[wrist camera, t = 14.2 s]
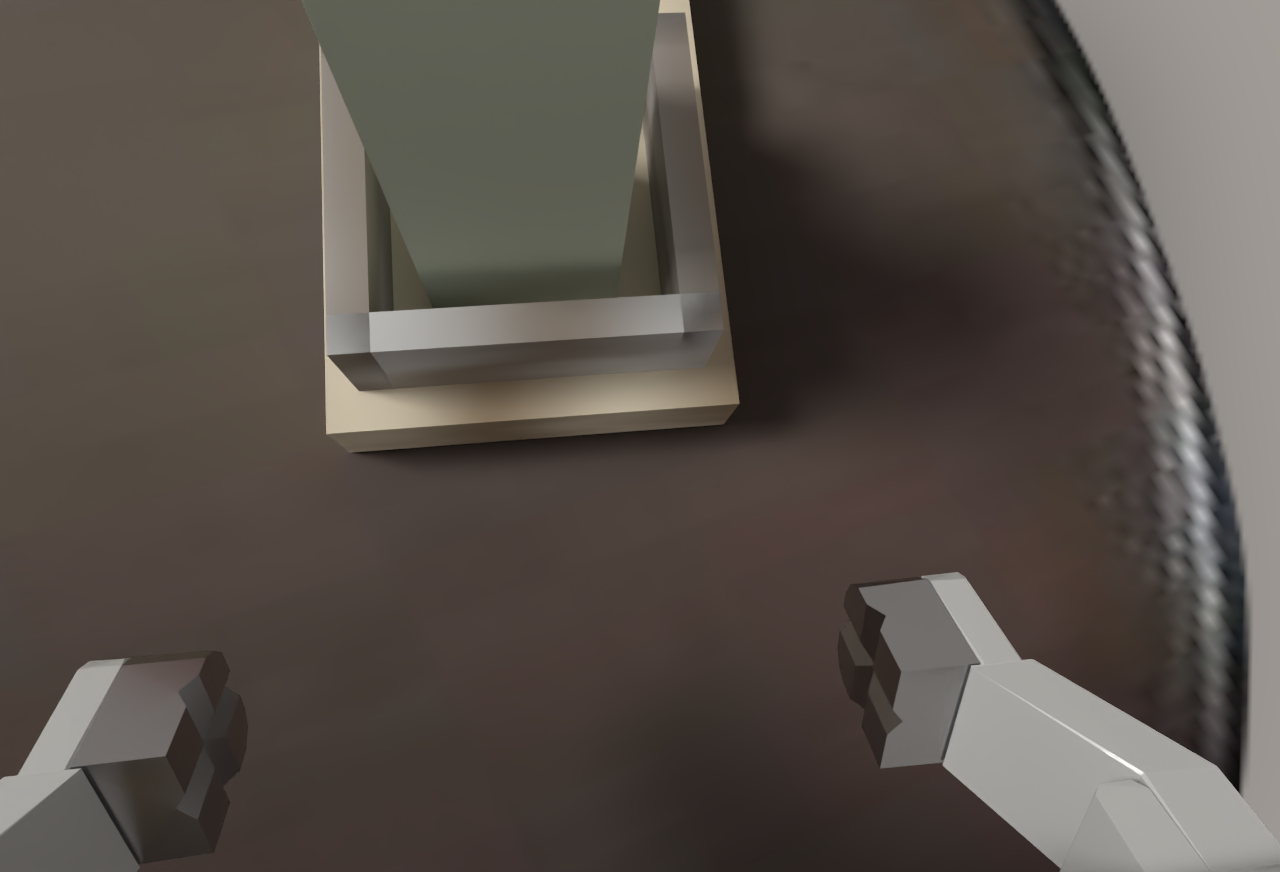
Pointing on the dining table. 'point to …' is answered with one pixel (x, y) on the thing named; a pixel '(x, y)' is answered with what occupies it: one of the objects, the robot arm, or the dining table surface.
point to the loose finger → (499, 135)
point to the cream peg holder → (532, 332)
